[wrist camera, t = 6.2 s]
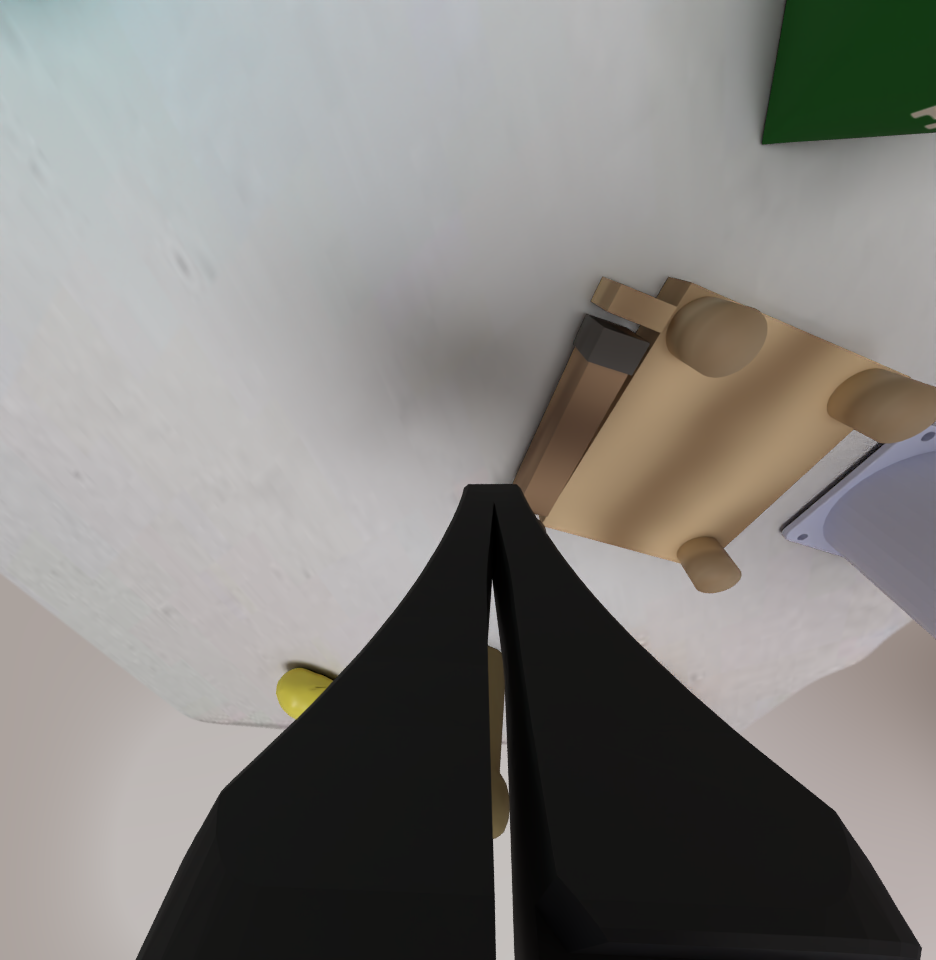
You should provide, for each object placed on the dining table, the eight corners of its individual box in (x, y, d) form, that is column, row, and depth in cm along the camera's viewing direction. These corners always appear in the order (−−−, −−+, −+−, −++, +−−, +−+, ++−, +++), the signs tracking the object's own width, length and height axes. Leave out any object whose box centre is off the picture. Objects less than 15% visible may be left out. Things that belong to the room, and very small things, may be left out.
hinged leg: (542, 489, 19) (549, 518, 17) (510, 481, 19) (514, 510, 17) (626, 327, 14) (650, 343, 12) (586, 313, 14) (604, 327, 12)
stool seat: (869, 362, 15) (968, 397, 12) (678, 553, 22) (711, 605, 19) (614, 253, 13) (656, 260, 10) (493, 502, 20) (495, 551, 17)
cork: (424, 653, 30) (402, 833, 21) (488, 637, 28) (493, 824, 19) (457, 684, 33) (450, 852, 24) (517, 670, 31) (533, 846, 23)
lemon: (303, 653, 31) (283, 702, 28) (371, 688, 34) (360, 735, 31) (275, 667, 32) (253, 715, 29) (343, 699, 36) (330, 745, 33)
